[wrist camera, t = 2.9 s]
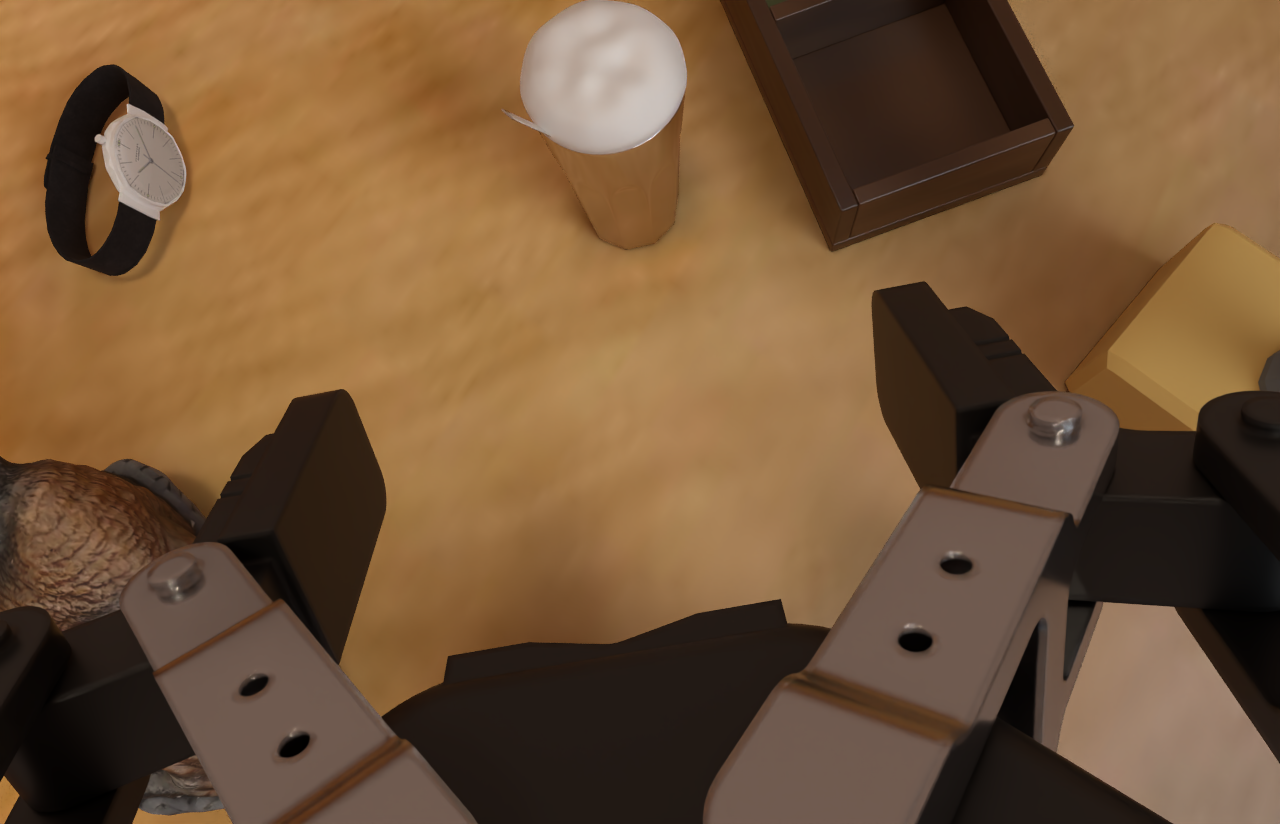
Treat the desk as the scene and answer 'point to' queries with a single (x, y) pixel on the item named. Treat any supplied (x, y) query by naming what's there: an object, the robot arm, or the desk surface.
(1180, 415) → the rubber stamp
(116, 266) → the watch
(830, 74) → the tray
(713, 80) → the desk surface
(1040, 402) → the robot arm
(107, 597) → the brown animal figure
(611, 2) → the milkshake
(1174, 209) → the desk surface
